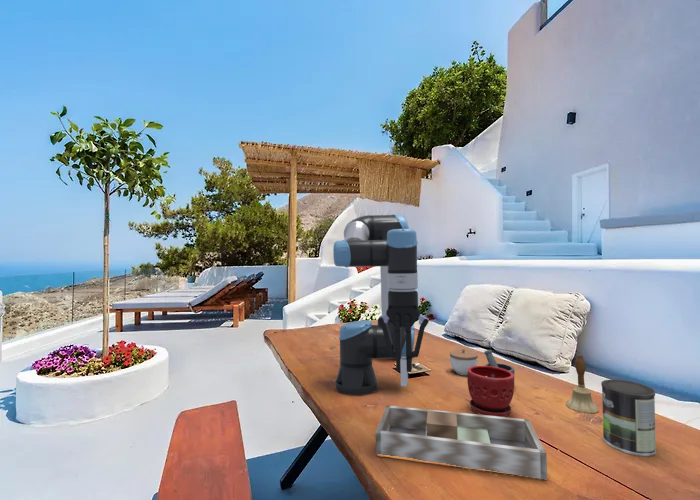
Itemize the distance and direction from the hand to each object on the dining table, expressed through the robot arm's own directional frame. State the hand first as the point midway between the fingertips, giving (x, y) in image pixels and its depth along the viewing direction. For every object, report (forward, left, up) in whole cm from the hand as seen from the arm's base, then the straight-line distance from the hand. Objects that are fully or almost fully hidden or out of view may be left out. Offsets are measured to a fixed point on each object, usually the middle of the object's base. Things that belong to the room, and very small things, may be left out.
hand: (404, 384), depth 87 cm
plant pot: (+23, +24, -15) cm, 37 cm away
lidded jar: (+17, +58, -15) cm, 63 cm away
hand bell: (+50, +33, -15) cm, 62 cm away
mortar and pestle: (+28, +46, -15) cm, 56 cm away
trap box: (+12, 0, -15) cm, 19 cm away
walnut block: (+9, 0, -12) cm, 15 cm away
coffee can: (+53, +12, -15) cm, 56 cm away
